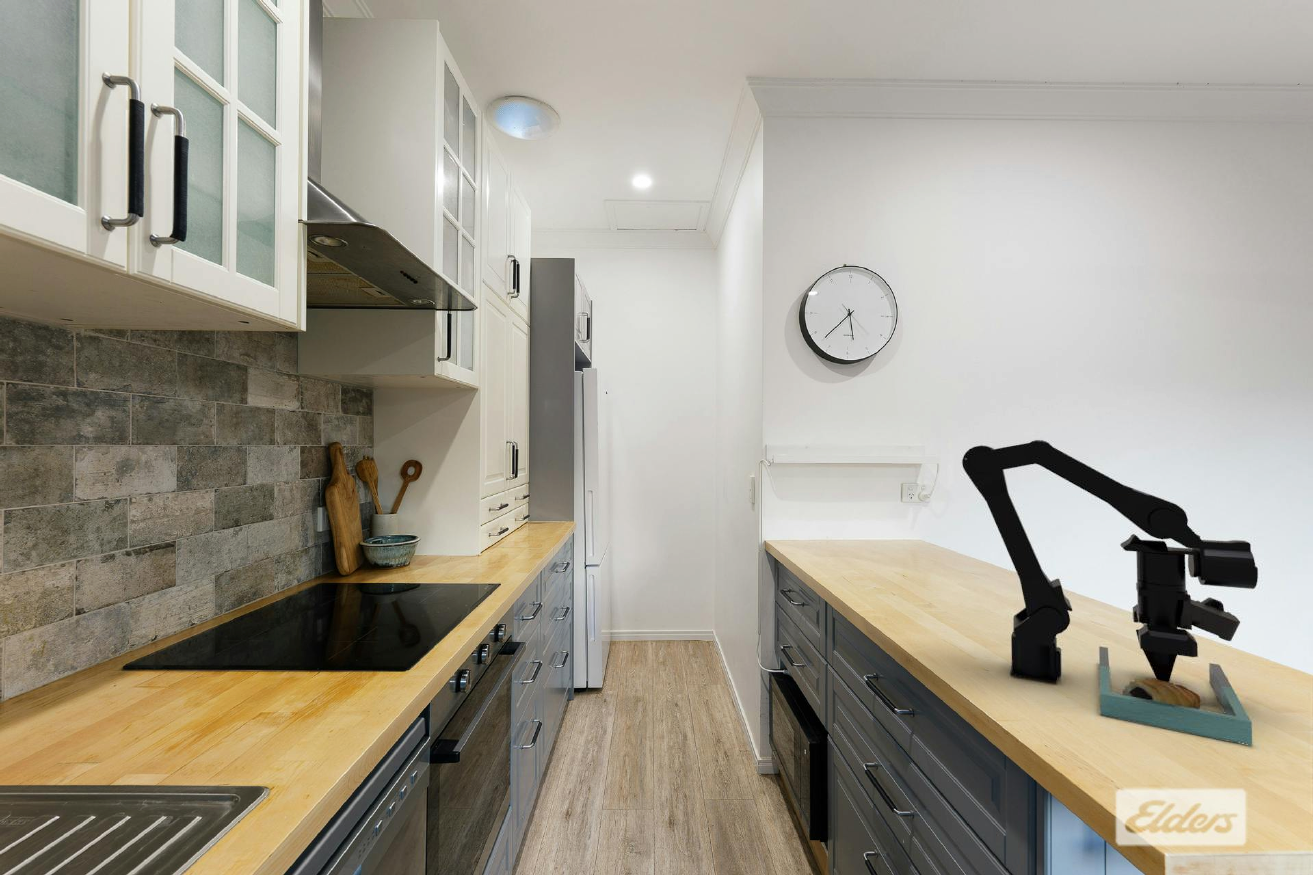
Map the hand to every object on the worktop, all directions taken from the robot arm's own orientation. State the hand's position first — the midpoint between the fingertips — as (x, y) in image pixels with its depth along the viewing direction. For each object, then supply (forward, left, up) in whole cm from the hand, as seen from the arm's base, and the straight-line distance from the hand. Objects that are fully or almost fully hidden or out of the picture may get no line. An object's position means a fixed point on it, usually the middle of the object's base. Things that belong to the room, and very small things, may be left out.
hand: (1163, 683), depth 92 cm
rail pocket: (0, -2, -2) cm, 2 cm away
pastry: (-1, -5, -2) cm, 5 cm away
